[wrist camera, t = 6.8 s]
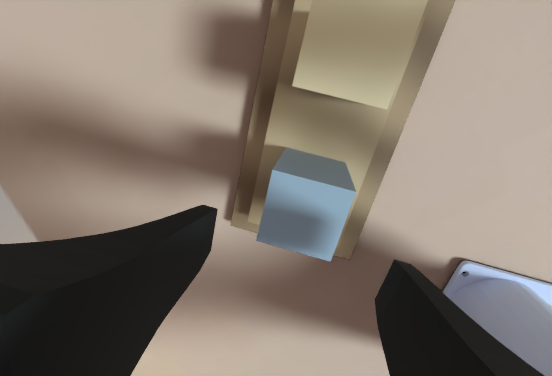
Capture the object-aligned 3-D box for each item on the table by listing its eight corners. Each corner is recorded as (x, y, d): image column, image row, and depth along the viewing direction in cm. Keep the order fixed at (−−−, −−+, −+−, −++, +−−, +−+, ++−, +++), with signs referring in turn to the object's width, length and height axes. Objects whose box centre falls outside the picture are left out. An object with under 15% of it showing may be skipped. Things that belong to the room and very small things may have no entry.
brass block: (365, 104, 16) (387, 109, 11) (301, 88, 16) (292, 86, 11) (391, 29, 14) (430, -7, 9) (319, 13, 15) (319, -30, 9)
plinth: (348, 254, 22) (351, 269, 20) (233, 221, 22) (225, 232, 20) (459, -21, 15) (479, -38, 13) (286, -58, 15) (282, -79, 13)
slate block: (327, 215, 19) (330, 261, 13) (273, 200, 19) (256, 240, 14) (345, 162, 17) (356, 191, 12) (286, 147, 17) (272, 169, 12)
